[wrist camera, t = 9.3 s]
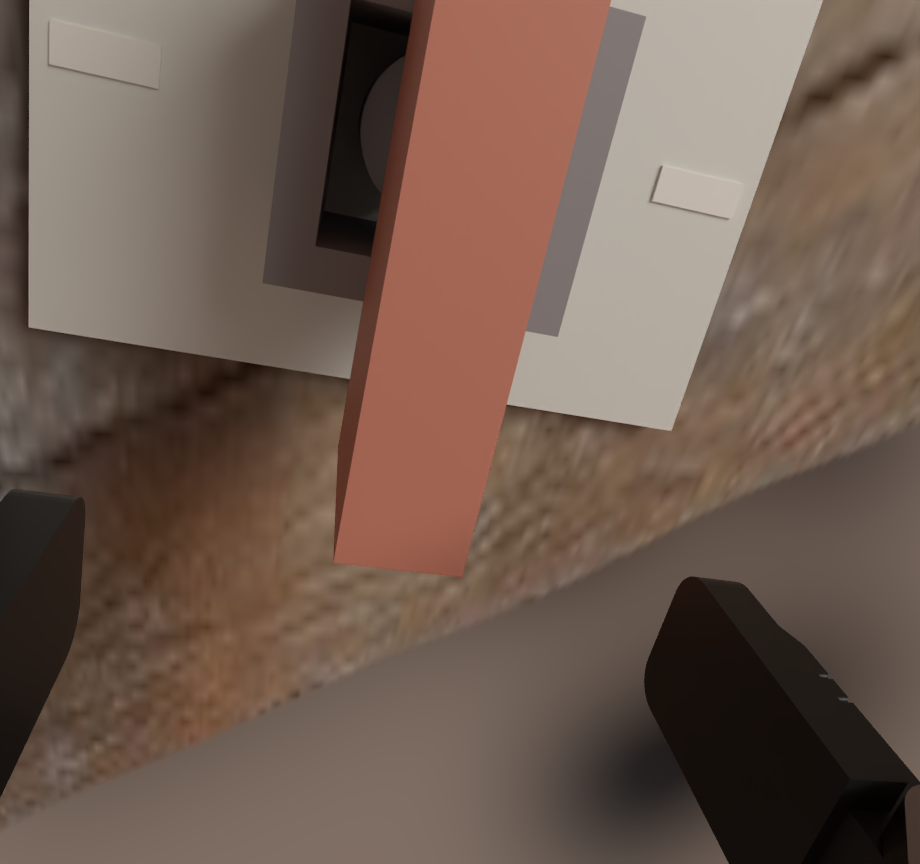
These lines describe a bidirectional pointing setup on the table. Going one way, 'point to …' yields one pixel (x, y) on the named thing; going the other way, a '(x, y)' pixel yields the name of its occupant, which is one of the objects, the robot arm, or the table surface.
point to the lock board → (214, 179)
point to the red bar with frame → (445, 240)
